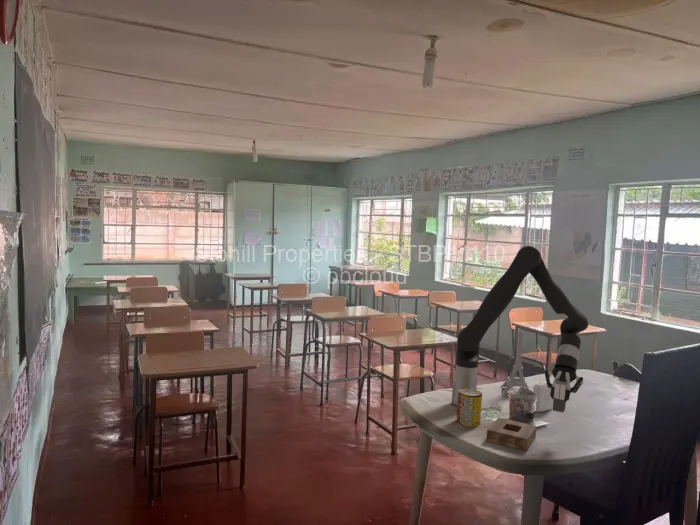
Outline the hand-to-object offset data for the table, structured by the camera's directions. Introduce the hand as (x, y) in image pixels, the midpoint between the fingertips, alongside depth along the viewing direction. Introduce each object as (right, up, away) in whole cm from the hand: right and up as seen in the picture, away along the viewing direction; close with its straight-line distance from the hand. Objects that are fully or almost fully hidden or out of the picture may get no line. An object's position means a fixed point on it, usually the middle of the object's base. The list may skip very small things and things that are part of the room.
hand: (559, 399), depth 188 cm
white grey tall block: (+1, -4, +2) cm, 5 cm away
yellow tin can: (-29, -14, +16) cm, 36 cm away
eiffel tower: (+3, -12, +59) cm, 60 cm away
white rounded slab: (+7, -14, +36) cm, 39 cm away
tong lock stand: (-16, -15, +2) cm, 22 cm away
